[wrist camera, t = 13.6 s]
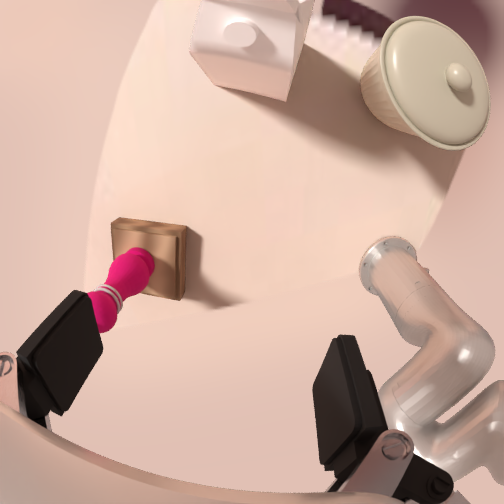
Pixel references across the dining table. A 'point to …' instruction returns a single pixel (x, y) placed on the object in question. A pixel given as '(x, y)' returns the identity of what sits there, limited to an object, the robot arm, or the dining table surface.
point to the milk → (251, 43)
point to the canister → (427, 84)
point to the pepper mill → (121, 285)
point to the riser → (155, 252)
